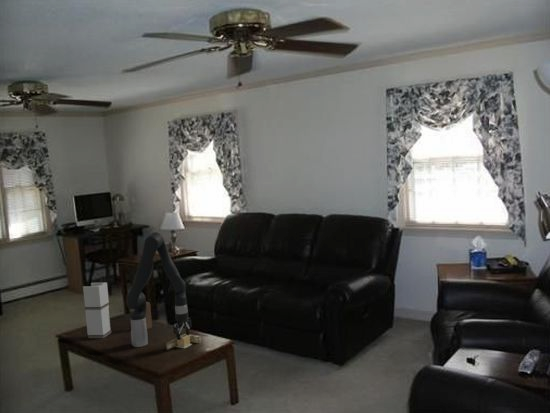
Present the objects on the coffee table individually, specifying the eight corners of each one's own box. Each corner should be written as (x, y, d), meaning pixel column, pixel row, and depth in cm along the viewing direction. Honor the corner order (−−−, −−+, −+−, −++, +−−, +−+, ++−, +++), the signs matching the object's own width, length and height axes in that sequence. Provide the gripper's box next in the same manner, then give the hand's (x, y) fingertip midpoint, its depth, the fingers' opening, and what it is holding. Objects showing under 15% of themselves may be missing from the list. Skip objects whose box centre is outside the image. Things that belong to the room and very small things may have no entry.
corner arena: (166, 349, 299) (166, 343, 298) (185, 339, 313) (184, 333, 313) (183, 352, 292) (182, 345, 292) (201, 342, 307) (200, 336, 306)
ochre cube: (184, 347, 300) (183, 338, 299) (177, 346, 302) (176, 337, 302) (190, 344, 304) (189, 335, 304) (183, 343, 307) (182, 334, 307)
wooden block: (140, 331, 336) (138, 305, 334) (137, 329, 339) (135, 304, 338) (152, 327, 342) (150, 302, 340) (149, 326, 345) (147, 301, 344)
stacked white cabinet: (111, 332, 337) (106, 282, 334) (103, 338, 327) (98, 286, 324) (96, 332, 339) (91, 282, 336) (87, 338, 329) (82, 286, 326)
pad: (175, 346, 302) (175, 346, 302) (183, 342, 308) (183, 342, 308) (184, 348, 298) (184, 348, 298) (192, 344, 305) (192, 343, 305)
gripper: (178, 315, 294) (180, 342, 295) (193, 309, 306) (195, 334, 308) (169, 314, 298) (171, 340, 299) (184, 307, 310) (186, 332, 312)
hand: (183, 337), depth 304 cm, fingers open, 8 cm apart
